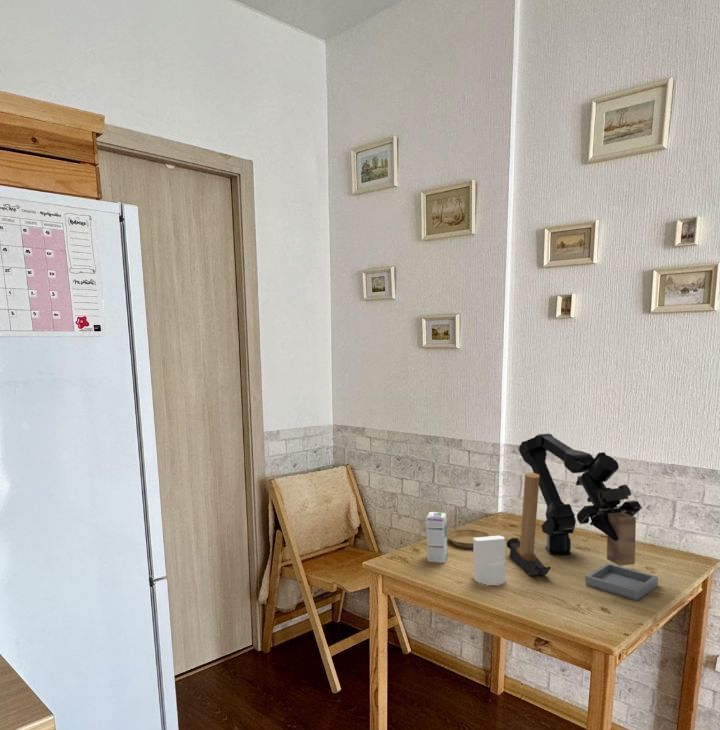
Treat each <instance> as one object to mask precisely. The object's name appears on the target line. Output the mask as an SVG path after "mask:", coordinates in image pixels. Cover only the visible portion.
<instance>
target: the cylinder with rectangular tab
mask: <svg viewBox="0 0 720 730" xmlns="http://www.w3.org/2000/svg"><path fill="white" fill-rule="evenodd" d="M472 550H473V580H474V581H475V582H476V581H477V582H479V583H478V584H480V583H482V584H481V585H483V584H486V585H485V586H488V585H497V586H501V585H504V584H505V583H506V539H505V537H504V536H502V535H490V536H488V537H476V538H473V548H472ZM477 582H476V583H477ZM503 583H504V584H503ZM500 584H501V585H500Z"/></svg>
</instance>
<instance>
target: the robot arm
mask: <svg viewBox="0 0 720 730" xmlns="http://www.w3.org/2000/svg"><path fill="white" fill-rule="evenodd" d="M518 451H519V454H520V455H521V457H522V459H523V461H524V462H525V464H527V465H529V466H530V467H531V469H532V473H536V474H539V475H540V477H539V489H540V492H541V494H542V497H543V500H544V502H545V505H546V510H545V518H546V519H545V521H544V522H543V523H542V524H541V530H542V532H543V533H544V534H546V546H545V549H546V550H547V553H549V554H550V555H564V556H565V555H569V556H570V555H571V554H572V553H571V546H572V545H571V542H572V541H571V538H570V534H574V531H575V527H576V525H577V524H576V523H577V522H578V523H579V525H584V524H589V525H590V526H593V527H594V528H596V529H598V530H599V531H600V532H602V533H604V534H605V535H606V536H607V535H608V536H609V537H610V538H611V539H613V540H614V541H617V540H618V538H617V535H616V533H615V531H614V529H613V528H612V526H611V524H610V522H609V519H608V513H621V512H623V513H625V514H628V515H631V516H633V517H635V516H636V514H637V513H639V512H640V511H641V510H642V509H643V507H642V506H641V504H640V502H639V501H638V500H634V499H633V500H629V497H630V496H632V491H631V489H630V488H629V486H628V485H627V484H621V485H618V487H617V488H611V487H607V486H606V485H605V482H608V481H609V480H610V478H611V477H612V476H613V475H614V474H615V473H616V472H617V471H618V470H619V466H620V465H619V463H618V461H617V459H614V458H613V457H612V456H610V455H607V453H606V452H604V451H603V452H598V453H597V455H596V456H595V457H593V455H592V454H591V453H588V452H585V451H583V450H582V451H581V450H577V449H573V448H571V447H570V446H569V445H567V444H565V443H564V442H562V441H561V440H559V439H558V438H555V437H554V436H553V434H551V433H540V434H539V433H538V434H537V435H535V436H534V437H531V438H529V439H527V440H525V441H522V442H521V443H520V445H519V446H518ZM547 451H548V452H550V453H551V454H552V455H554V456H556V457H557V458H558V459H560V460H561V461H562V462H563V466H564V467H565V468H566V469H567V470H568V471H569V472H570V473H572V474H580V473H581V475H579V476H577V479H576V482H575V485H576V486H581V487H583V489H584V492H585V493H586V494H587V499H586V500H587V503H591V504H592V505H584V506H583V507H582V508H581V509H580V510H579V511H578V513H577V514H575V513H574V511H573V508H572V506H571V504H569V503H567V504H566V503H565V502H564V501H562V498H561V496H560V494H559V491H558V489H557V487H556V484H555V482H554V480H553V478H552V475H551V473H550V470H549V467H548V465H547V462H546V459H547V454H548V453H547ZM623 500H624V501H625V500H627V501H625V502H623V503H622V504H621V502H622V501H623ZM620 504H621V505H620ZM619 505H620V506H619ZM575 516H576V517H575ZM576 519H577V521H576ZM590 521H591V522H590Z"/></svg>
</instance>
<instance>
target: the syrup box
mask: <svg viewBox="0 0 720 730" xmlns="http://www.w3.org/2000/svg"><path fill="white" fill-rule="evenodd" d="M425 519H426V520H425V521H426V550H427V551H426V552H427V553H426V555H427V557H426V558H427V562H430V563H438V564H445V563H446V562H447V558H448V537H447V535H448V531H447V525H448V523H447V513H446V512H441V511H429V512H428V514H427V515H426V518H425Z"/></svg>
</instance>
